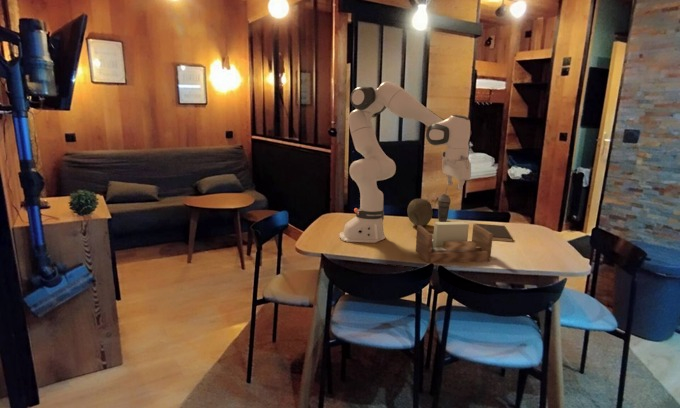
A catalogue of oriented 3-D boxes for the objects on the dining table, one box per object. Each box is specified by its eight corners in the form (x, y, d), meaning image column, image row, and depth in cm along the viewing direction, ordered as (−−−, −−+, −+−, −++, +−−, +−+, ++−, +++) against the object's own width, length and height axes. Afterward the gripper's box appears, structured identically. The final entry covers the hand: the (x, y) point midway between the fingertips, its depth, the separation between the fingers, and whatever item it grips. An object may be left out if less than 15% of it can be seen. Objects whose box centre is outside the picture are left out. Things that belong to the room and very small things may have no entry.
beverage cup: (441, 218, 238) (444, 185, 234) (451, 221, 233) (454, 187, 228) (433, 220, 234) (436, 186, 229) (443, 223, 228) (446, 188, 224)
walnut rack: (426, 263, 167) (428, 235, 164) (415, 250, 181) (417, 225, 179) (489, 261, 170) (492, 233, 168) (473, 249, 185) (476, 224, 182)
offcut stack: (433, 261, 169) (435, 244, 168) (430, 258, 173) (432, 242, 171) (479, 260, 172) (480, 243, 170) (475, 257, 175) (477, 241, 174)
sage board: (435, 255, 176) (437, 224, 173) (432, 252, 180) (434, 222, 177) (466, 254, 178) (468, 224, 175) (462, 251, 182) (464, 221, 178)
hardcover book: (478, 239, 201) (479, 235, 201) (474, 227, 223) (474, 223, 222) (512, 242, 198) (513, 238, 197) (504, 229, 220) (505, 225, 219)
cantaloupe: (437, 227, 219) (439, 200, 216) (416, 230, 213) (418, 202, 210) (421, 221, 232) (423, 195, 228) (400, 223, 225) (402, 197, 222)
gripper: (476, 157, 160) (473, 191, 163) (453, 152, 179) (451, 183, 182) (461, 157, 159) (458, 192, 162) (440, 152, 178) (438, 183, 181)
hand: (454, 187), depth 172 cm, fingers open, 8 cm apart
